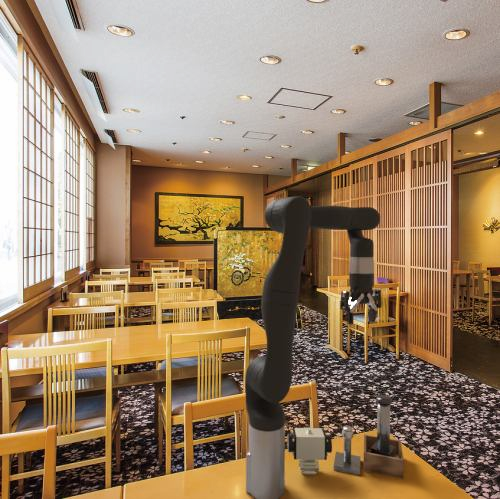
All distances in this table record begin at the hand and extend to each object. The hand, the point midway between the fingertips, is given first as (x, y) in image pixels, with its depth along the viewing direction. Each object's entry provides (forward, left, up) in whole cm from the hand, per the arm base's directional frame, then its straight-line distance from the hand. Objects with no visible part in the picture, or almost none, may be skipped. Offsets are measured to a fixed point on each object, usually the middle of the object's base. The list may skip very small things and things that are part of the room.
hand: (361, 322), depth 111 cm
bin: (+6, -9, -38) cm, 40 cm away
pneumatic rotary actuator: (-13, -19, -38) cm, 45 cm away
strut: (+7, -9, -37) cm, 39 cm away
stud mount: (-3, -13, -38) cm, 40 cm away
